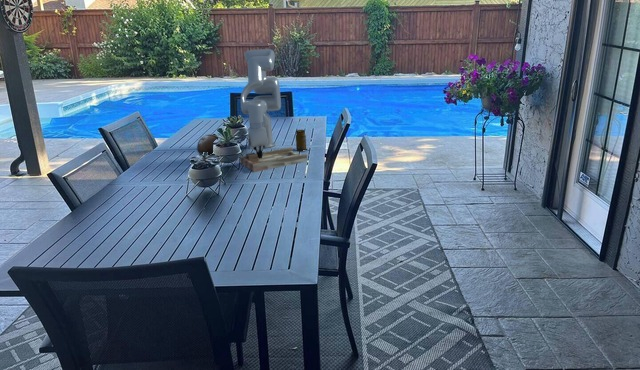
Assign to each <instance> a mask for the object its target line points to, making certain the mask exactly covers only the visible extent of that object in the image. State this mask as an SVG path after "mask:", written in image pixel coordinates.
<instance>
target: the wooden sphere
mask: <svg viewBox="0 0 640 370" xmlns="http://www.w3.org/2000/svg"><path fill="white" fill-rule="evenodd" d="M218 138H220V137H218V136H217V135H216V134H205V135H204V136H202V137H201V138H200V139H199V140H198V142H197V146H196V149H197V150H196V151H197V152H198V155H199V156H200V155H202V154H203V152H208V155H210V154H212V153H213V142H214V141H215V140H216V139H218Z"/></svg>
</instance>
